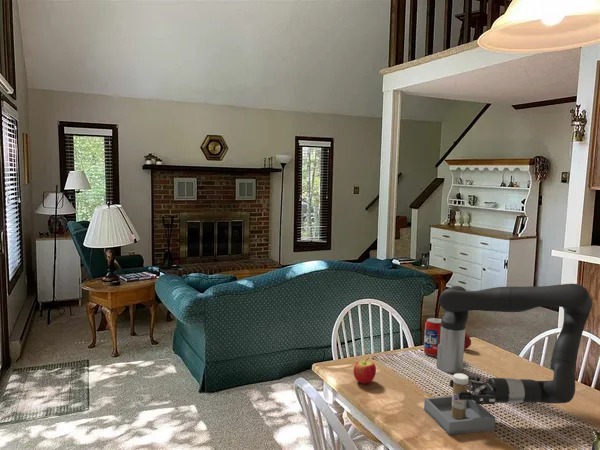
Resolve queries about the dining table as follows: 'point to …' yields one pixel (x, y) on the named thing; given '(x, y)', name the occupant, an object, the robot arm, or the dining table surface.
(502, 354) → the dining table surface
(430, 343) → the soda can
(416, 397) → the dining table surface
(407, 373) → the dining table surface
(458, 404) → the sprinkles bottle
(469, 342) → the onion
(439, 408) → the bin
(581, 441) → the dining table surface
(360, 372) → the apple
